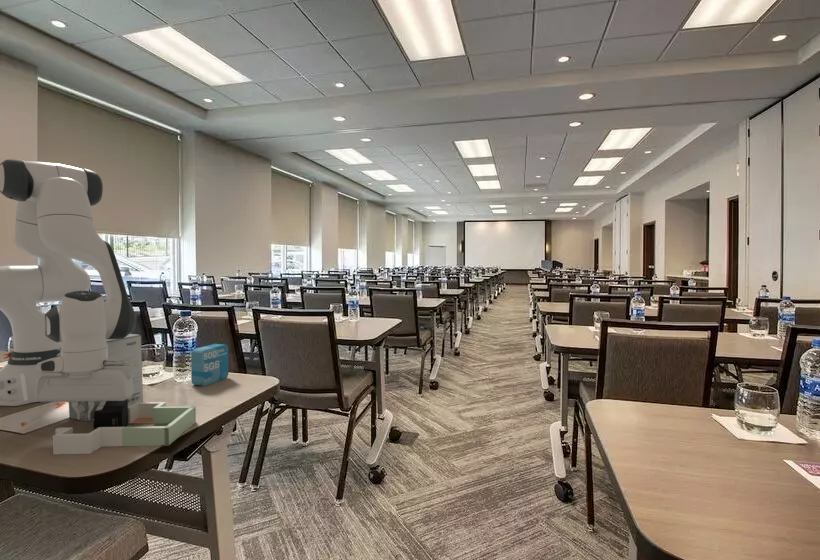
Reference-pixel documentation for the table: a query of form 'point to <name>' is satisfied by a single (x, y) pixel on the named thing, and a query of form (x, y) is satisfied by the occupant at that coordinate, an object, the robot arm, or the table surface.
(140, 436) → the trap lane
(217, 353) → the data package
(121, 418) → the digital camera
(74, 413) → the hard drive box
